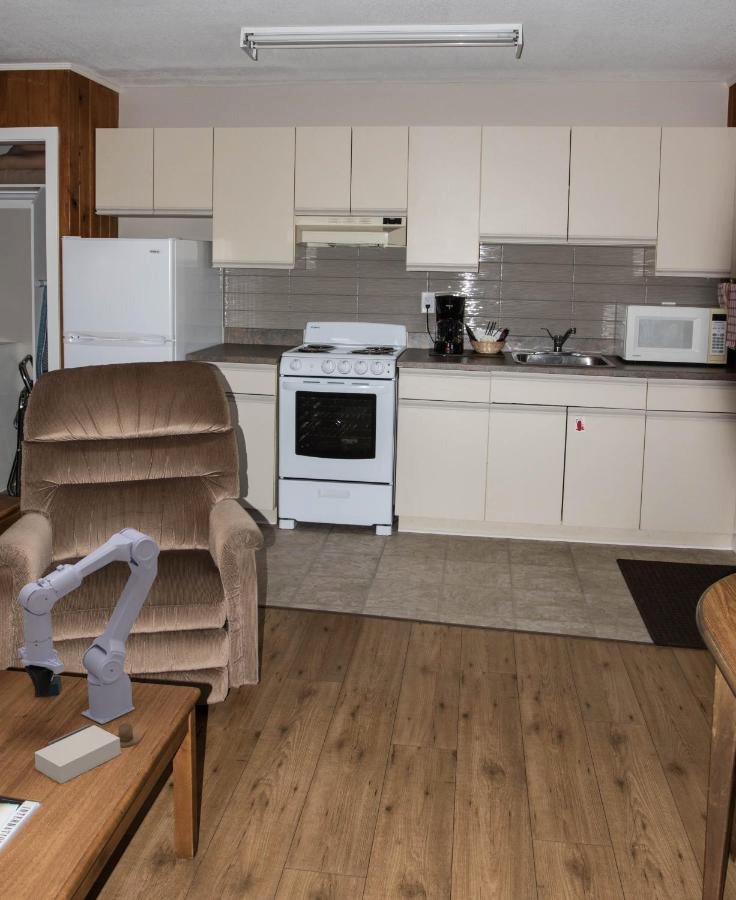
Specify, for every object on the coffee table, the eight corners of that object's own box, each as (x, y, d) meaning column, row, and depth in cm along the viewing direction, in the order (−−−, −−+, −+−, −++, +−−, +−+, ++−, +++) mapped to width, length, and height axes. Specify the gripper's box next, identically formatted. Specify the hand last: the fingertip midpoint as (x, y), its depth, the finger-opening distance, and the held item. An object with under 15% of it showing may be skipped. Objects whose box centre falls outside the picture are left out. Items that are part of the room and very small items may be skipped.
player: (35, 768, 199) (33, 752, 198) (94, 740, 210) (93, 724, 209) (61, 783, 193) (60, 766, 192) (120, 754, 205) (119, 737, 204)
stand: (128, 732, 214) (127, 717, 213) (144, 740, 210) (143, 725, 210) (107, 742, 209) (107, 727, 209) (123, 750, 206) (123, 735, 205)
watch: (62, 684, 237) (59, 642, 235) (57, 698, 229) (54, 656, 227) (39, 685, 236) (36, 644, 234) (33, 700, 228) (30, 658, 226)
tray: (48, 756, 202) (47, 742, 201) (89, 736, 210) (89, 723, 209) (73, 770, 197) (72, 756, 196) (114, 749, 205) (113, 736, 204)
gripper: (3, 634, 210) (8, 691, 213) (41, 651, 201) (46, 710, 204) (32, 624, 215) (36, 680, 218) (70, 641, 206) (74, 698, 209)
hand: (42, 694), depth 211 cm, fingers closed
